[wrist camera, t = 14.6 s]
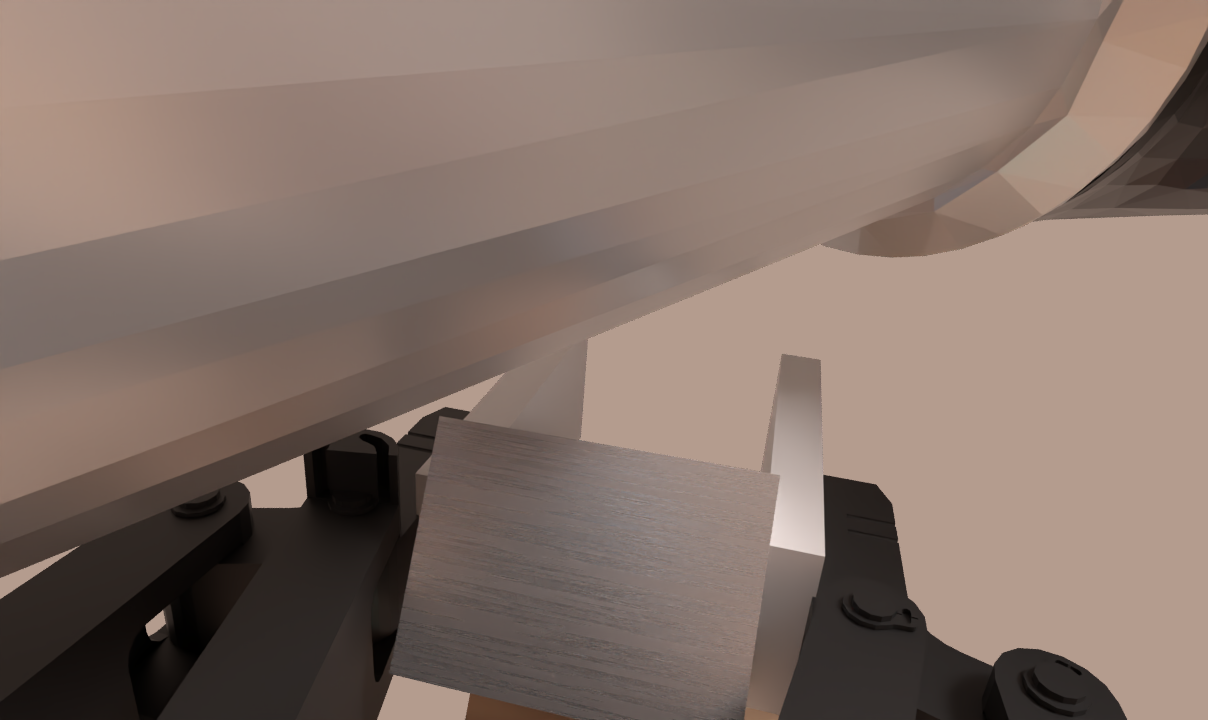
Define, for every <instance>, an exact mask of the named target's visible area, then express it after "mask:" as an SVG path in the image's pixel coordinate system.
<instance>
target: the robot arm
mask: <svg viewBox="0 0 1208 720" xmlns="http://www.w3.org/2000/svg"><path fill="white" fill-rule="evenodd" d="M1200 214H1201V215H1203V214H1208V0H0V578H1V577H4V576H6V575H9V574H11V573H13V572H16V571H18V570H21V569H23V568H26V567H28V566H30V565H33V564H35V563H38V562H40V561H43V560H45V559H48V558H50V557H53V556H55V555H58V554H60V553H63V552H65V551H68V550H70V549H72V548H75V547H77V546H79V547H78V548H76V549H75V550H73V551H72V552H70V553H69V554H68V555H66V556H64V557H63V558H61V559H60V560H58V561H57V562H55V563H54V564H52V565H51V566H49V567H48V568H46V569H45V570H43V571H42V572H40V573H39V574H37V575H36V576H34V577H33V578H32V579H30V580H28V581H27V582H25V583H24V584H22V585H21V586H19V587H18V588H16V589H15V590H13V591H12V592H11V593H9V594H8V595H6V596H4V597H3V598H2V599H0V720H377V717H378V715H379V712H380V710H381V707H382V704H383V701H384V699H385V696H386V693H387V690H388V688H389V685H390V682H391V680H392V677H393V674H389V672H390V667H391V662H392V657H393V652H394V647H395V641H396V636H397V631H398V626H399V621H400V616H401V611H402V605H403V600H404V595H405V590H406V585H407V580H408V575H409V570H410V564H411V559H412V554H413V549H414V544H415V539H416V534H417V528H418V523H419V518H420V513H421V508H422V503H423V498H424V493H425V487H426V482H427V477H428V472H429V467H430V462H431V457H432V452H433V446H434V441H435V436H436V431H437V426H438V421H439V416H443V417H449V418H455V419H460V420H466V421H472V422H478V423H484V424H489V425H495V426H501V427H507V428H512V429H518V430H524V431H530V432H536V433H541V434H547V435H553V436H559V437H565V438H570V439H576V440H579V439H580V437H581V425H582V412H583V398H584V384H585V371H586V357H587V356H586V355H587V341H588V338H591V337H593V336H596V335H598V334H601V333H603V332H605V331H608V330H610V329H613V328H615V327H618V326H620V325H623V324H625V323H628V322H630V321H633V320H635V319H637V318H640V317H642V316H645V315H647V314H650V313H652V312H655V311H657V310H660V309H662V308H664V307H667V306H669V305H672V304H674V303H677V302H679V301H682V300H684V299H687V298H689V297H692V296H694V295H696V294H699V293H701V292H704V291H706V290H709V289H711V288H713V287H716V286H719V285H721V284H723V283H726V282H728V281H731V280H733V279H736V278H738V277H741V276H743V275H745V274H748V273H750V272H753V271H755V270H758V269H760V268H763V267H765V266H768V265H770V264H772V263H775V262H777V261H780V260H782V259H785V258H787V257H790V256H792V255H795V254H797V253H800V252H802V251H805V250H807V249H809V248H812V247H814V246H817V245H819V244H821V245H823V246H826V247H830V248H834V249H838V250H842V251H846V252H850V253H855V254H859V255H871V256H882V257H910V256H911V257H912V256H927V255H933V254H938V253H943V252H948V251H954V250H959V249H963V248H966V247H969V246H972V245H975V244H978V243H981V242H984V241H986V240H989V239H993V238H996V237H999V236H1002V235H1004V234H1006V233H1009V232H1011V231H1014V230H1016V229H1018V228H1021V227H1023V226H1025V225H1027V224H1029V223H1031V222H1034V221H1041V220H1050V219H1075V218H1076V219H1077V218H1101V217H1103V218H1104V217H1130V216H1159V215H1200ZM820 365H821V364H820V360H817V359H811V358H805V357H798V356H792V355H786V354H782V356H781V362H780V368H779V373H778V379H777V384H776V390H775V395H774V401H773V406H772V412H771V418H770V423H769V429H768V434H767V440H766V446H765V451H764V456H763V463H762V468H761V472H765V473H771V474H776V475H780V480H779V487H778V494H777V500H776V507H775V514H774V521H773V527H772V534H771V541H770V548H769V554H768V561H767V568H766V575H765V581H764V588H763V595H762V602H761V608H760V615H759V622H758V629H757V635H756V642H755V649H754V656H753V662H752V669H751V676H750V683H749V689H748V696H747V703H746V707H749V708H753V709H757V710H761V711H765V712H769V713H773V714H777V715H779V718H778V720H1127V718H1126V716H1125V714H1124V712H1123V711H1122V708H1121V706H1120V704H1119V703H1118V701H1117V700H1116V699H1115V697H1114V696H1113V694H1112V693H1111V692H1110V690H1109V689H1108V688H1107V686H1106V685H1105V684H1103V683H1102V682H1101V681H1100V680H1099V679H1097V678H1096V677H1095V676H1094V675H1093V674H1091V673H1090V672H1089V671H1088V670H1086V669H1085V668H1083V667H1081V666H1079V665H1077V664H1075V663H1074V662H1072V661H1070V660H1068V659H1066V658H1064V657H1062V656H1059V655H1055V654H1052V653H1049V652H1046V651H1042V650H1039V649H1023V648H1017V649H1014V650H1011V651H1007V652H1004V653H1002V655H1001V656H1000V657H999V658H998V660H997V661H996V662H995V664H994V666H991V665H989V664H986V663H984V662H982V661H979V660H977V659H975V658H973V657H970V656H968V655H966V654H964V653H961V652H959V651H958V650H955V649H954V648H952V647H950V646H948V645H946V644H944V643H943V642H942V641H940V640H939V639H937V638H936V637H934V636H933V635H932V634H930V633H929V632H928V631H927V627H926V621H925V617H924V615H923V614H922V612H921V611H920V610H919V608H918V607H917V606H916V604H915V603H914V602H913V601H911V600H910V599H909V598H908V596H907V591H906V585H905V578H904V574H903V573H904V572H903V566H902V561H901V555H900V549H899V543H897V541H898V537H897V531H896V527H895V519H894V513H893V507H892V504H891V502H890V501H889V500H888V498H887V497H886V496H885V495H884V493H883V492H882V491H881V490H880V489H879V487H878V486H877V485H876V484H870V483H865V482H859V481H854V480H849V479H843V478H838V477H832V476H826V475H823V451H822V449H823V447H822V408H821V406H822V405H821V366H820ZM505 372H506V373H505ZM502 373H505V374H504V375H503V376H502V377H501V378H500V379H499V380H498V382H497V383H496V384H495V385H494V386H493V387H492V388H491V389H490V391H489V392H488V393H487V394H486V395H485V396H484V397H483V398H482V399H481V401H480V402H479V403H478V404H477V405H476V406H475V407H474V408H473V410H472V411H471V412H469V411H463V410H458V409H453V408H447V407H445V408H442V409H440V410H438V411H436V412H434V413H431V414H429V415H427V416H425V417H423V418H422V419H421V420H420V421H419V422H418V423H417V424H416V425H415V426H414V427H413V428H412V429H410V431H409V432H408V435H404V436H403V437H402V438H401V439H400V441H398V443H397V444H396V442H395V441H394V439H393V438H391V437H389V436H387V435H385V434H383V433H381V432H377V431H371V430H367V428H370V427H372V426H374V425H377V424H379V423H382V422H384V421H387V420H389V419H392V418H394V417H397V416H399V415H402V414H404V413H407V412H409V411H411V410H414V409H416V408H419V407H421V406H424V405H426V404H429V403H431V402H434V401H436V400H438V399H441V398H443V397H446V396H448V395H451V394H453V393H456V392H458V391H461V390H463V389H465V388H468V387H470V386H472V385H475V384H478V383H480V382H482V381H485V380H488V379H490V378H493V377H495V376H497V375H500V374H502ZM303 454H304V464H305V477H306V488H307V499H306V500H305V502H304V503H303V505H302V506H301V507H300V508H252V505H251V498H250V492H249V490H248V489H247V488H246V486H245V485H244V484H242V483H240V482H238V481H239V480H242V479H244V478H247V477H249V476H251V475H254V474H256V473H259V472H262V471H264V470H267V469H269V468H271V467H274V466H276V465H279V464H281V463H283V462H286V461H289V460H291V459H293V458H296V457H298V456H301V455H303ZM80 545H81V546H80ZM162 610H163V611H164V616H165V621H166V624H165V625H164V626H163V627H162V628H161V629H160V630H158V631H157V632H156V633H154V634H152V635H151V636H148V635H147V632H146V627H145V625H146V624H147V623H148V622H149V621H150V620H151V619H153V618H154V617H155V616H156V615H157V614H158V613H160V612H161V611H162Z"/></svg>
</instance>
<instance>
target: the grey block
mask: <svg viewBox="0 0 1208 720" xmlns="http://www.w3.org/2000/svg"><path fill="white" fill-rule="evenodd" d="M779 480H780V475H776V474H771V473H765V472H760V471H754V470H748V469H743V468H737V467H731V466H726V465H720V464H714V463H709V462H703V461H697V460H691V459H686V458H680V457H674V456H668V455H662V454H656V453H651V452H645V451H640V450H634V449H628V448H622V447H616V446H610V445H605V444H599V443H593V442H587V441H582V440H576V439H570V438H565V437H559V436H553V435H547V434H541V433H536V432H530V431H524V430H518V429H512V428H507V427H501V426H495V425H489V424H484V423H478V422H472V421H466V420H460V419H455V418H449V417H443V416H439V421H438V426H437V431H436V436H435V441H434V446H433V452H432V457H431V462H430V467H429V472H428V477H427V482H426V487H425V493H424V498H423V503H422V508H421V513H420V518H419V523H418V528H417V534H416V539H415V544H414V549H413V554H412V559H411V564H410V570H409V575H408V580H407V585H406V590H405V595H404V600H403V605H402V611H401V616H400V621H399V626H398V631H397V636H396V641H395V647H394V652H393V657H392V662H391V667H390V672H389V674H393V675H397V676H402V677H405V678H410V679H414V680H418V681H422V682H426V683H430V684H434V685H438V686H442V687H447V688H451V689H455V690H459V691H463V692H467V693H471V694H475V695H479V696H483V697H487V698H492V699H496V700H500V701H504V702H508V703H512V704H516V705H520V706H524V707H528V708H533V709H537V710H541V711H545V712H549V713H553V714H557V715H561V716H565V717H569V718H574V719H578V720H744V716H745V709H746V703H747V696H748V689H749V683H750V676H751V669H752V662H753V656H754V649H755V642H756V635H757V629H758V622H759V615H760V608H761V602H762V595H763V588H764V581H765V575H766V568H767V561H768V554H769V548H770V541H771V534H772V527H773V521H774V514H775V507H776V500H777V494H778V487H779Z"/></svg>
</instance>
